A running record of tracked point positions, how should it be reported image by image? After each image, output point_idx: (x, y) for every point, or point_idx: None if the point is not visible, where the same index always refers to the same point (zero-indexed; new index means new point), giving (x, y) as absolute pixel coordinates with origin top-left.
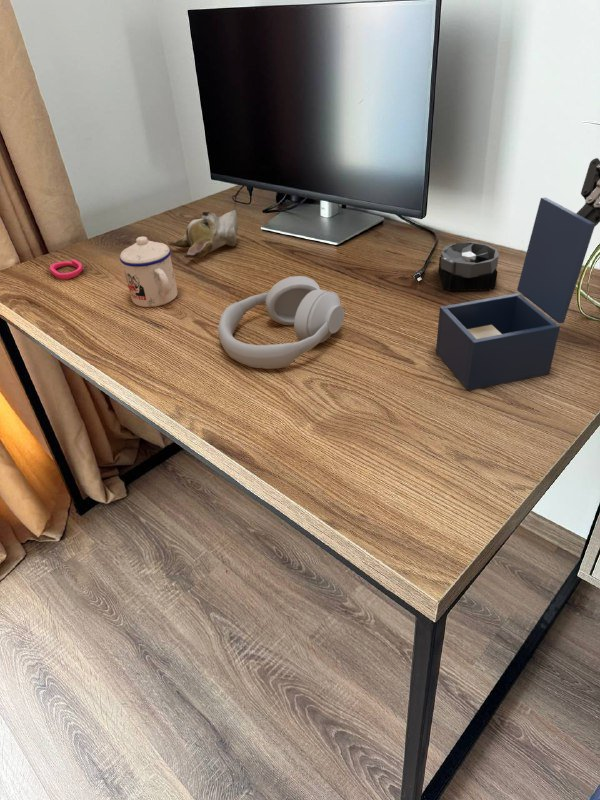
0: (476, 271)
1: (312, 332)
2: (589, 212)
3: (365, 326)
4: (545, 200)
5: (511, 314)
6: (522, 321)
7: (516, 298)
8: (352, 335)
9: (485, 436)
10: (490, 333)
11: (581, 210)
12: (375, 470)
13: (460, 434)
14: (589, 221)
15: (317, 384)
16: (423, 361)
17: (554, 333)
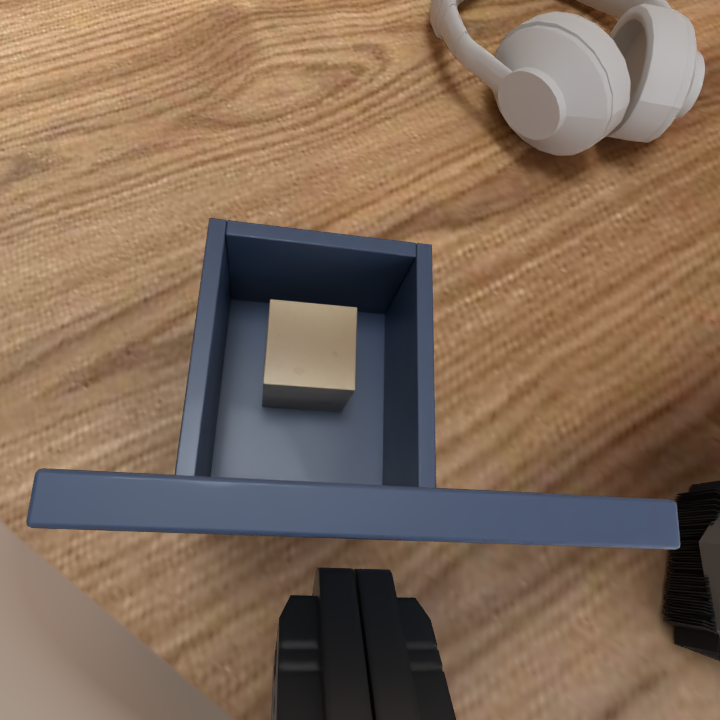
0: (717, 567)
1: (496, 57)
2: (324, 707)
3: (551, 226)
4: (618, 498)
5: None
6: None
7: None
8: (521, 187)
9: (54, 239)
10: (311, 359)
11: (408, 690)
12: (75, 35)
13: (87, 201)
14: (86, 508)
15: (364, 62)
16: None
17: None
